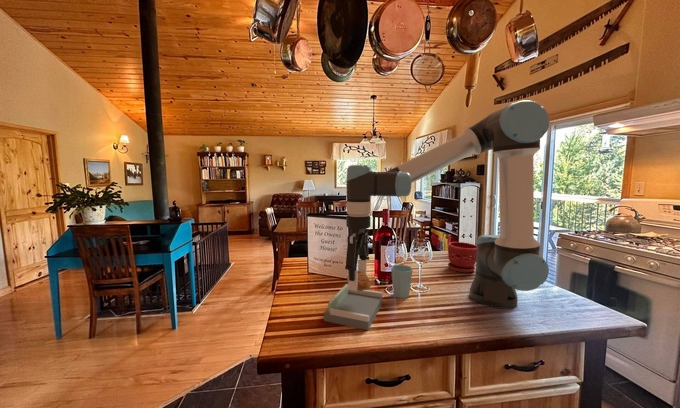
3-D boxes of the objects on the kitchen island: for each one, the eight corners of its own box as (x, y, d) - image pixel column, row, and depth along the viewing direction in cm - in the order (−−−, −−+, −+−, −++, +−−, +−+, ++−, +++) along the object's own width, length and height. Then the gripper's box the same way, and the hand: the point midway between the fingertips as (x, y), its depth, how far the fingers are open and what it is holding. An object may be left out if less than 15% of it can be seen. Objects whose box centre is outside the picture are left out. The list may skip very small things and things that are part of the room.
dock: (382, 303, 97) (382, 288, 96) (368, 330, 80) (368, 311, 80) (344, 297, 102) (344, 282, 101) (323, 321, 85) (323, 303, 85)
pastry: (375, 290, 86) (375, 278, 85) (355, 294, 83) (355, 281, 83) (363, 279, 95) (363, 269, 94) (344, 282, 92) (344, 271, 92)
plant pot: (465, 276, 123) (466, 249, 121) (441, 267, 134) (442, 243, 133) (483, 271, 129) (485, 245, 128) (459, 263, 140) (460, 240, 139)
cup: (416, 297, 101) (417, 269, 100) (399, 301, 98) (399, 272, 97) (403, 289, 108) (404, 263, 107) (386, 293, 105) (387, 266, 104)
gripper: (357, 210, 99) (357, 271, 101) (333, 219, 79) (333, 295, 81) (378, 211, 96) (377, 274, 99) (359, 220, 76) (358, 300, 78)
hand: (357, 284), depth 90 cm, fingers closed on pastry, 9 cm apart
